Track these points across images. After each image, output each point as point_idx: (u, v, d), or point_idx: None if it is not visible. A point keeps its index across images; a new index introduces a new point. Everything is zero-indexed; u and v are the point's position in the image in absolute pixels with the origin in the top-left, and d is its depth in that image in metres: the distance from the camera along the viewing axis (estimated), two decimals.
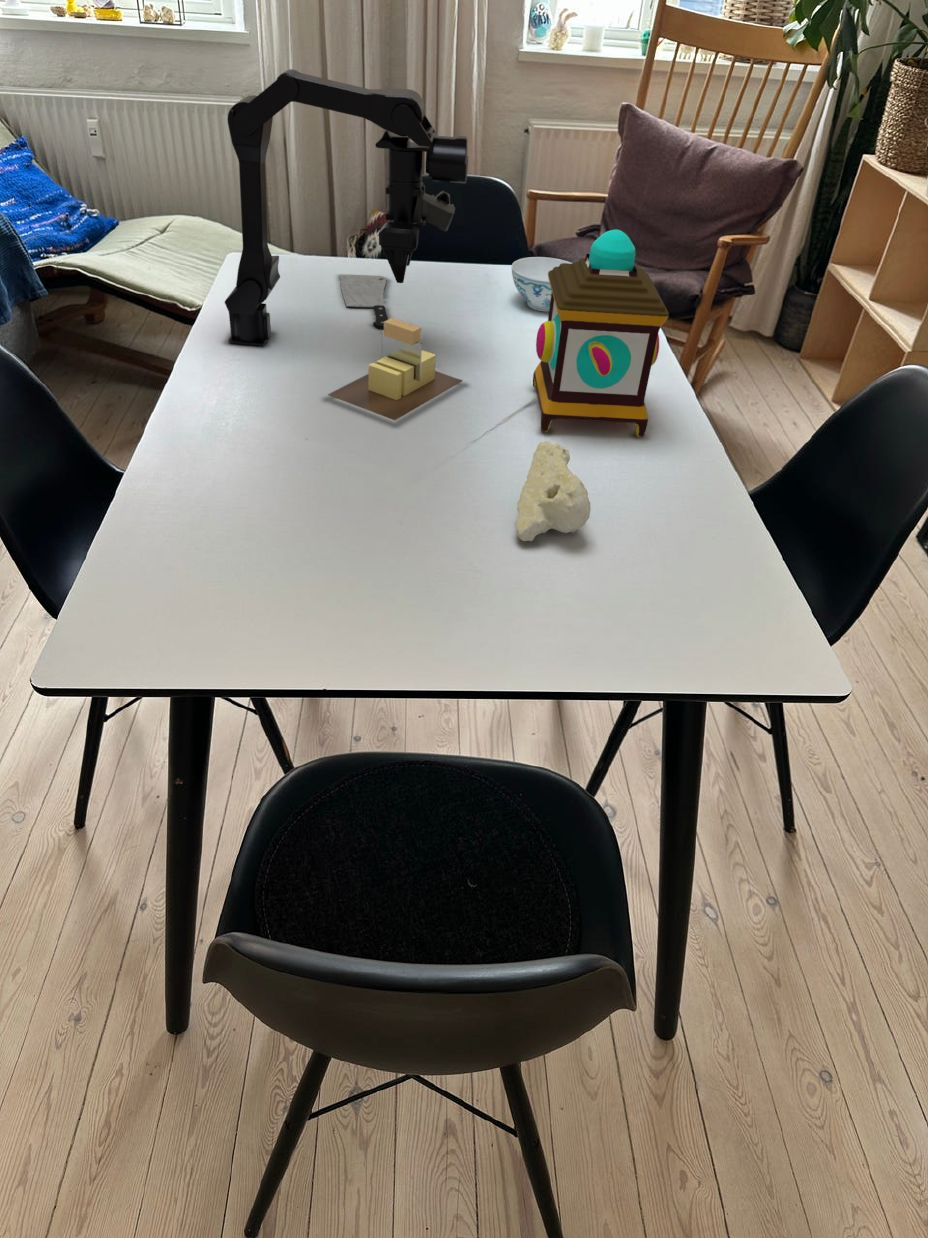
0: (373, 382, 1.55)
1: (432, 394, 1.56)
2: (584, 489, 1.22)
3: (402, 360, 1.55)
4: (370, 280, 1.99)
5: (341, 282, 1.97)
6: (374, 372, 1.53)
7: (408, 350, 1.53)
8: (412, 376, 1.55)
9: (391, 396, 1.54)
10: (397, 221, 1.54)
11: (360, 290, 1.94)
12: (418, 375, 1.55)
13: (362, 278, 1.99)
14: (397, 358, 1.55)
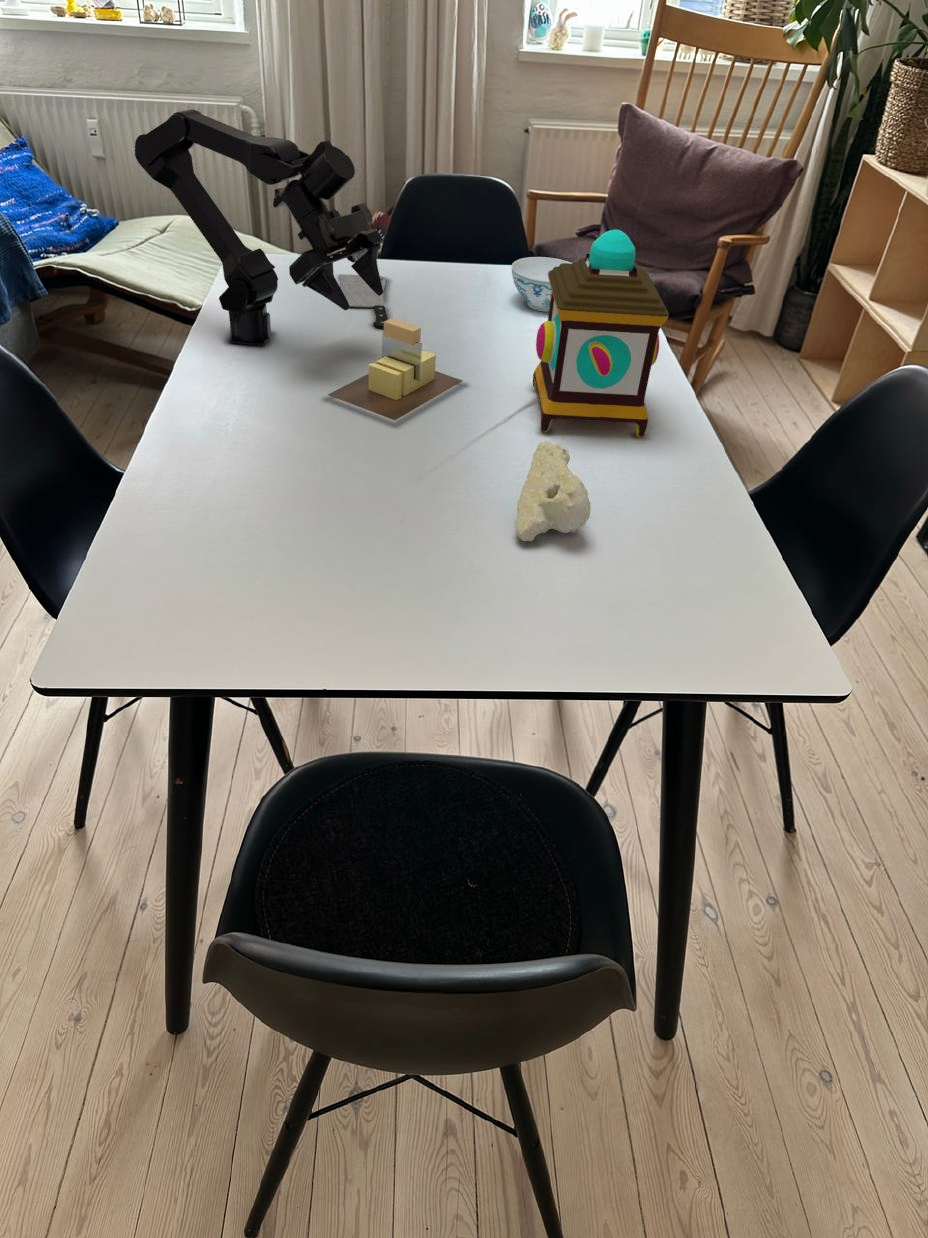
0: (373, 382, 1.55)
1: (432, 394, 1.56)
2: (584, 489, 1.22)
3: (402, 360, 1.55)
4: None
5: (341, 282, 1.97)
6: (374, 372, 1.53)
7: (408, 350, 1.53)
8: (412, 376, 1.55)
9: (391, 396, 1.54)
10: None
11: (360, 290, 1.94)
12: (418, 375, 1.55)
13: None
14: (397, 358, 1.55)
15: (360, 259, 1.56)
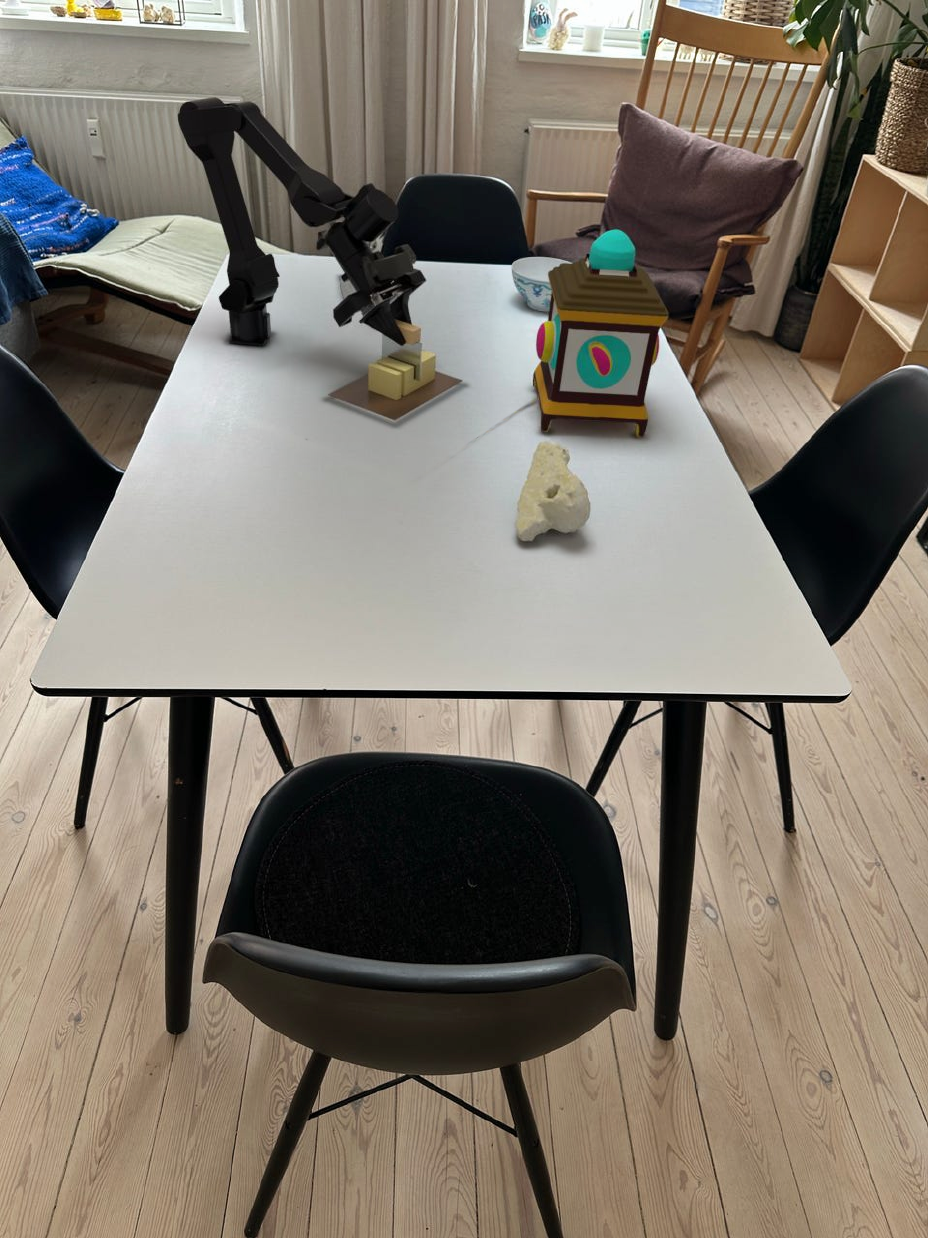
0: (373, 382, 1.55)
1: (432, 394, 1.56)
2: (584, 489, 1.22)
3: (402, 360, 1.55)
4: None
5: (341, 282, 1.97)
6: (374, 372, 1.53)
7: (408, 350, 1.53)
8: (412, 376, 1.55)
9: (391, 396, 1.54)
10: None
11: None
12: (418, 375, 1.55)
13: None
14: (397, 358, 1.55)
15: (391, 304, 1.53)
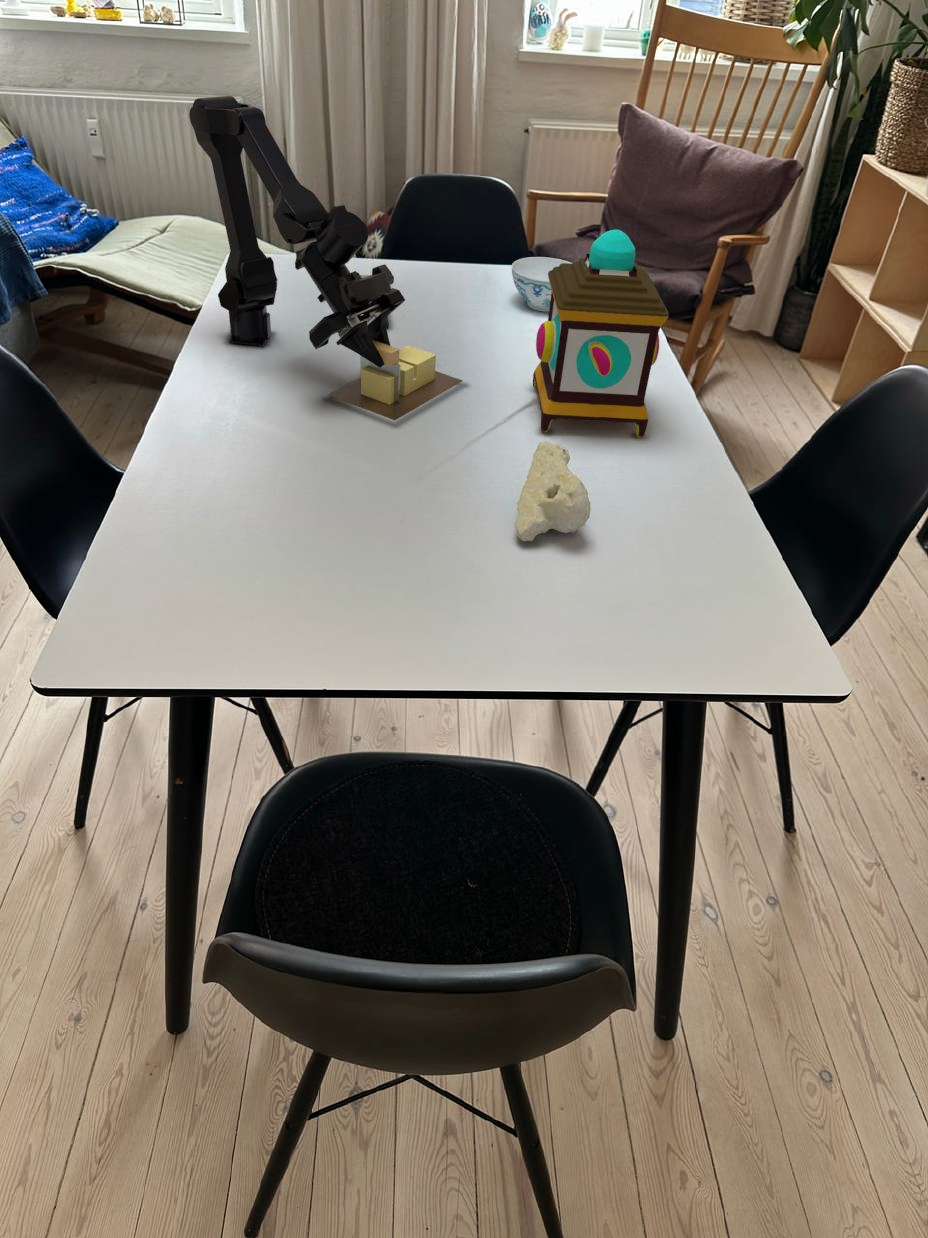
0: (365, 386, 1.53)
1: (432, 394, 1.56)
2: (584, 489, 1.22)
3: None
4: None
5: None
6: (367, 376, 1.52)
7: (386, 372, 1.51)
8: (412, 376, 1.55)
9: (384, 400, 1.52)
10: None
11: None
12: (397, 397, 1.52)
13: None
14: None
15: (369, 325, 1.50)
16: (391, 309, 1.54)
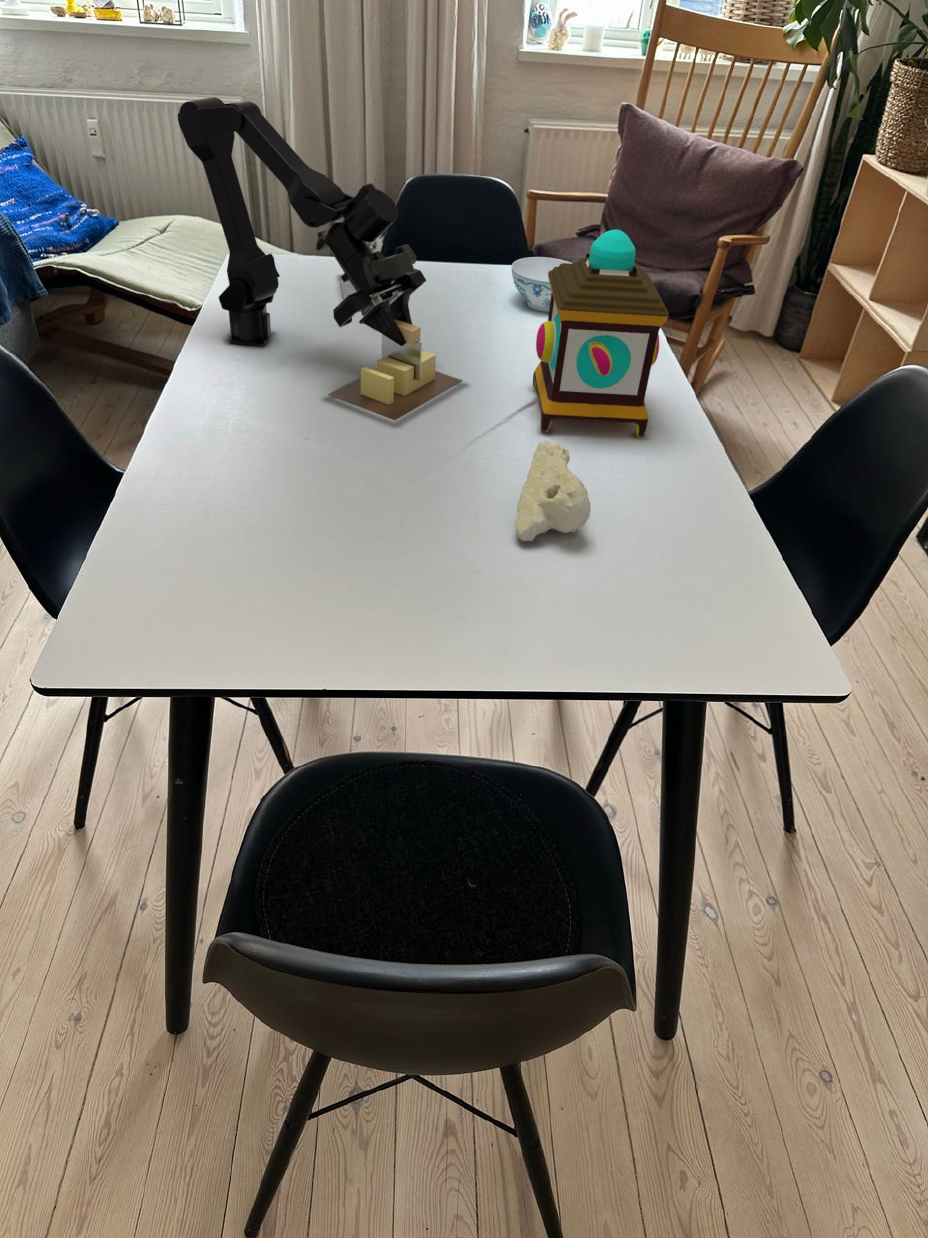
0: (365, 387, 1.53)
1: (432, 394, 1.56)
2: (584, 489, 1.22)
3: (402, 360, 1.55)
4: None
5: (341, 282, 1.97)
6: (367, 376, 1.52)
7: (408, 350, 1.53)
8: (412, 376, 1.55)
9: (383, 400, 1.52)
10: None
11: None
12: (418, 375, 1.55)
13: None
14: (397, 358, 1.55)
15: (391, 305, 1.53)
16: (412, 289, 1.57)
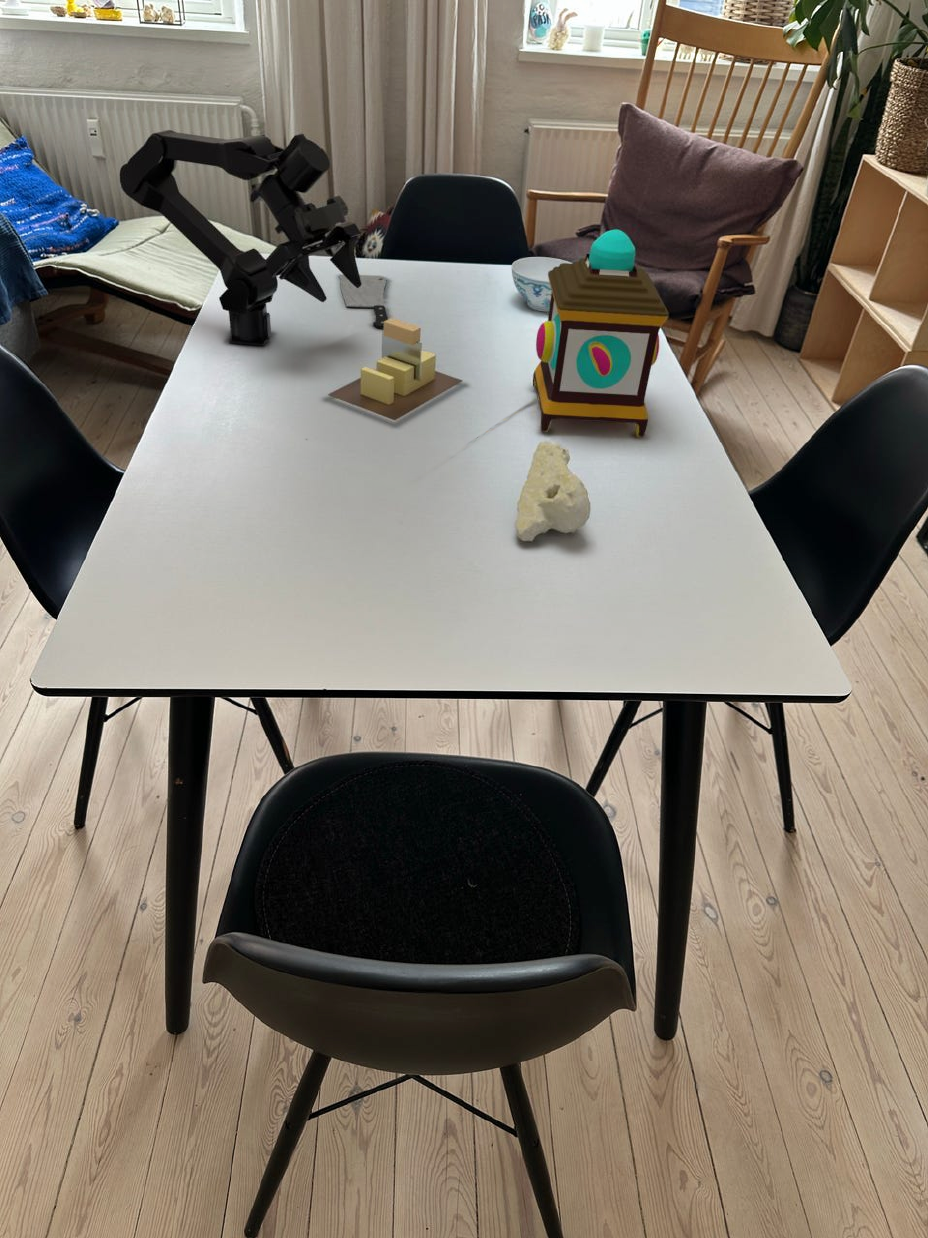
0: (365, 387, 1.53)
1: (432, 394, 1.56)
2: (584, 489, 1.22)
3: (402, 360, 1.55)
4: (370, 280, 1.99)
5: (341, 282, 1.97)
6: (367, 376, 1.52)
7: (408, 350, 1.53)
8: (412, 376, 1.55)
9: (383, 400, 1.52)
10: None
11: (360, 290, 1.94)
12: (418, 375, 1.55)
13: (362, 278, 1.99)
14: (397, 358, 1.55)
15: (338, 252, 1.58)
16: None
